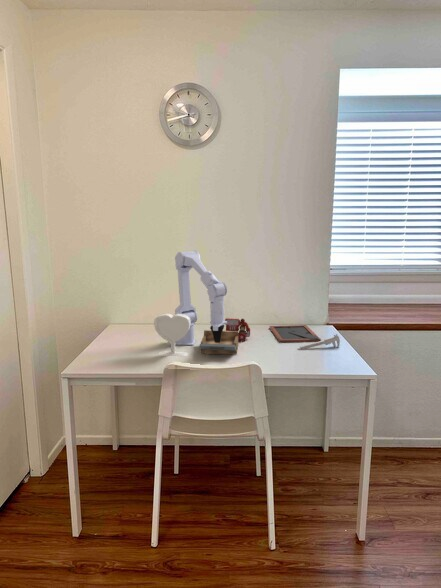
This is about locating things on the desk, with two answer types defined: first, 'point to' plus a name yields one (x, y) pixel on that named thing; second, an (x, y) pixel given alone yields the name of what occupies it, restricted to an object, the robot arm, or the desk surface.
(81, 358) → the desk surface
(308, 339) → the picture frame
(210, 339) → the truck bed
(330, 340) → the caliper
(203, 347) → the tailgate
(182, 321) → the heart sculpture
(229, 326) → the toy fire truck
